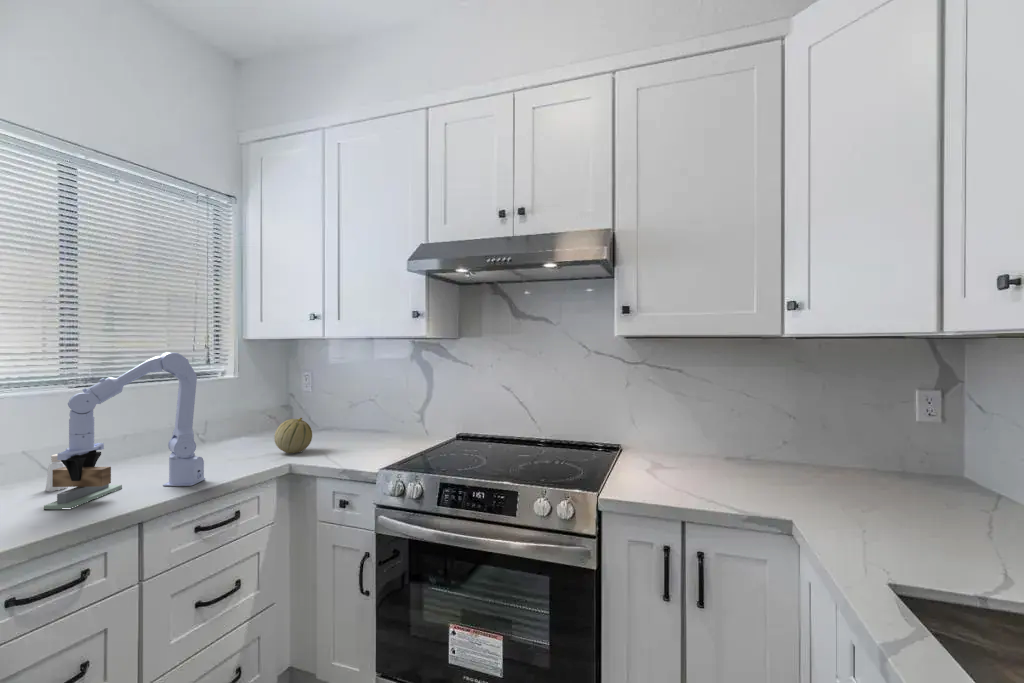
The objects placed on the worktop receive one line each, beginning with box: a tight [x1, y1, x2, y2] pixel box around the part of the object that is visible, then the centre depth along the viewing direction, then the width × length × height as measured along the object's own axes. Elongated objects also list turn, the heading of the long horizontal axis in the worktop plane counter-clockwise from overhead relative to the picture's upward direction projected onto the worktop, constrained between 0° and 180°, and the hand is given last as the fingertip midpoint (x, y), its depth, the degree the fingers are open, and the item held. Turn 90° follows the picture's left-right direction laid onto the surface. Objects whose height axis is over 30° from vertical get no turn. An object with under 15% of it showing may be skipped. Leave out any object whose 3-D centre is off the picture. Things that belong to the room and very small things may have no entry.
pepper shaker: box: [44, 453, 67, 492], centre depth 159 cm, size 5×5×11 cm
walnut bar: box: [52, 466, 112, 488], centre depth 148 cm, size 14×4×5 cm, turn 93°
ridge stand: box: [43, 484, 123, 510], centre depth 149 cm, size 7×20×4 cm, turn 3°
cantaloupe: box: [273, 417, 313, 454], centre depth 211 cm, size 15×15×15 cm
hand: (81, 478), depth 148 cm, fingers closed on walnut bar, 3 cm apart
